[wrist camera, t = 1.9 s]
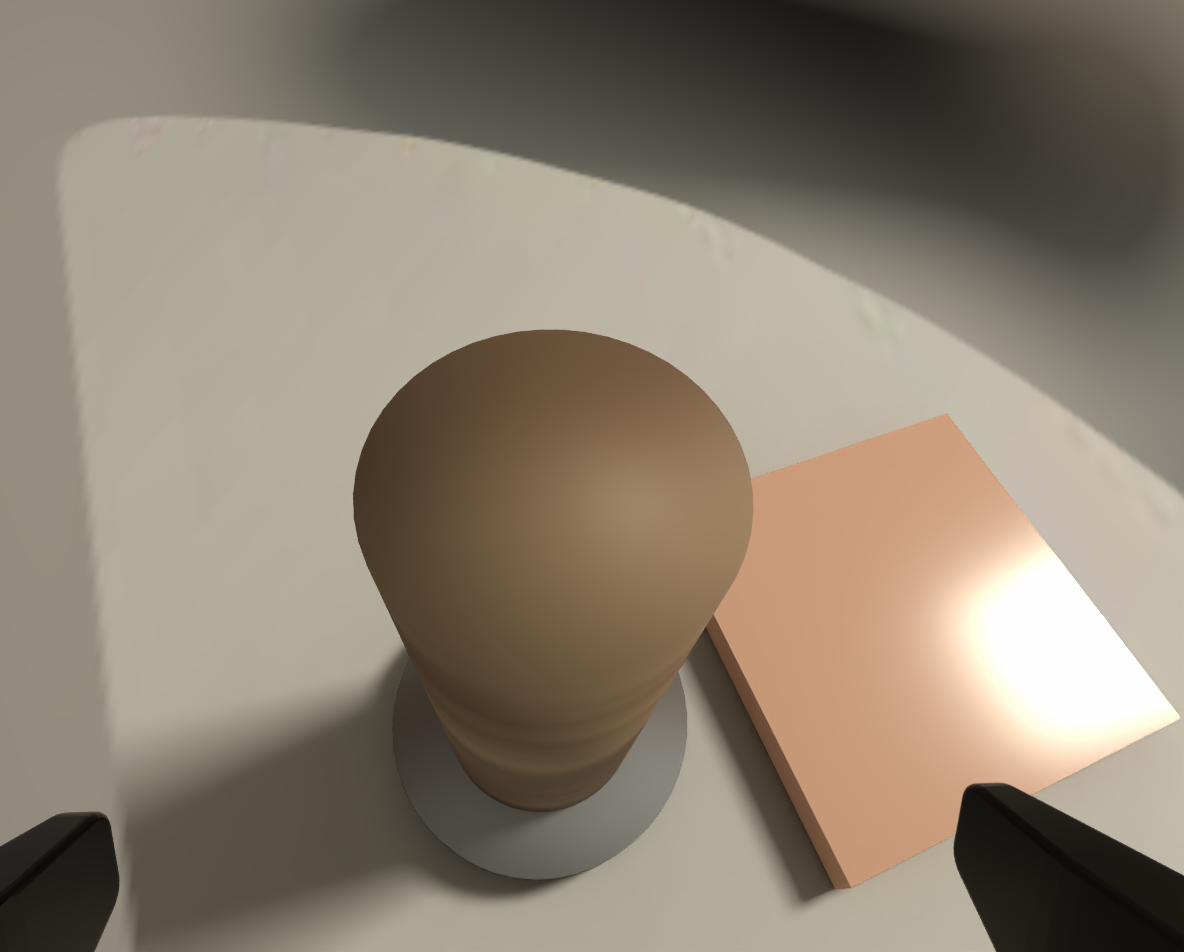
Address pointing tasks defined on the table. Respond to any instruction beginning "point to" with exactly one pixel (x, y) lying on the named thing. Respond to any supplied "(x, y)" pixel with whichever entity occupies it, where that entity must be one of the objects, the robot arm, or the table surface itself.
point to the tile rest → (915, 646)
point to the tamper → (548, 587)
